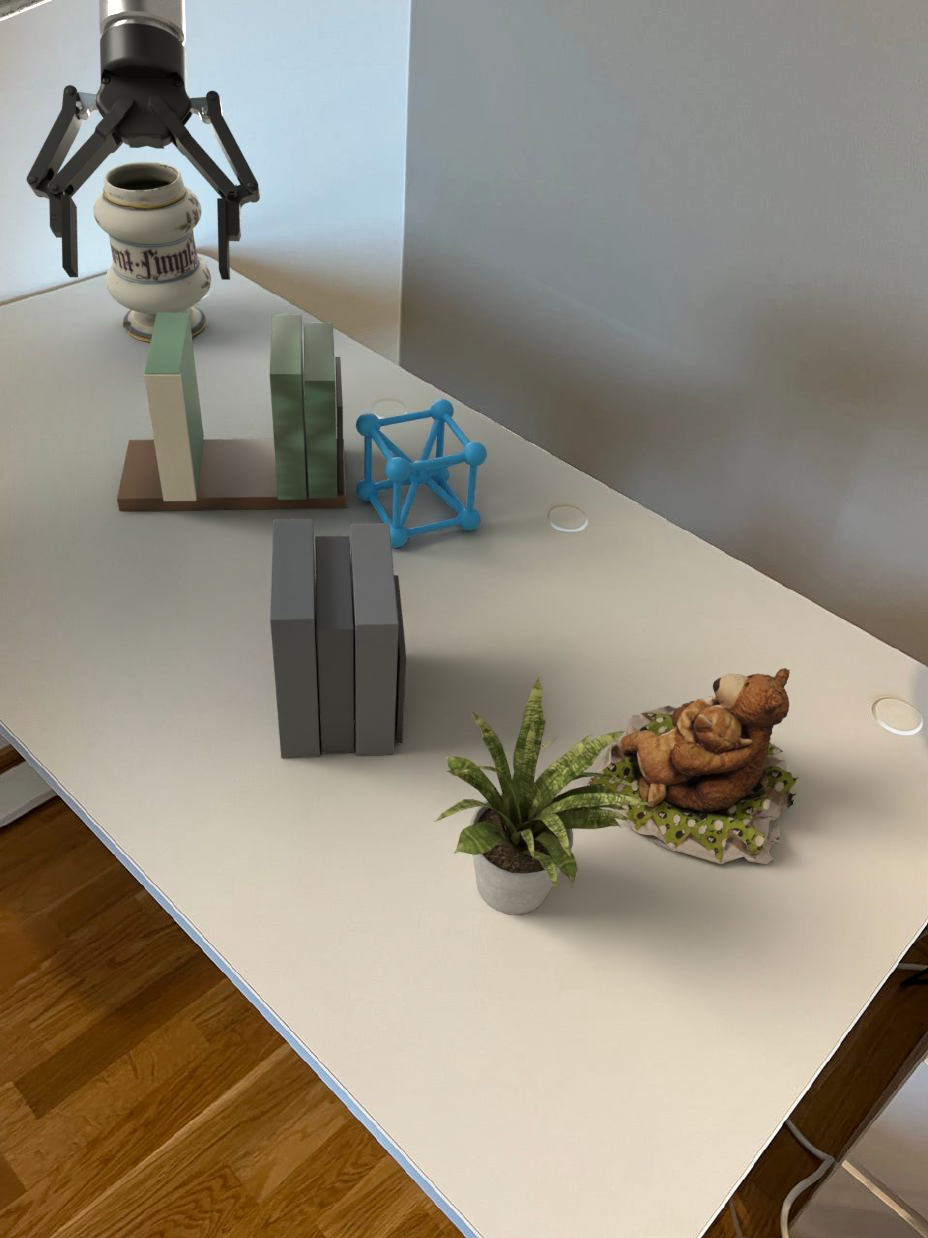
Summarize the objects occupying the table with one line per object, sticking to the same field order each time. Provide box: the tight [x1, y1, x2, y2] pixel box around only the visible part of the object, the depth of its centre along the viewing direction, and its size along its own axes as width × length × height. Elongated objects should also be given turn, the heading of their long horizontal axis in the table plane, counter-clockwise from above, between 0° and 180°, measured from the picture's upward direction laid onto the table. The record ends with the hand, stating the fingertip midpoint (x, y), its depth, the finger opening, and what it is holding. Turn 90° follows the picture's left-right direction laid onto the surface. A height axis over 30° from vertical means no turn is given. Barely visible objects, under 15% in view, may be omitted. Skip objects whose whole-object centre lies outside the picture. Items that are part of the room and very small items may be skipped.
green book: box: [143, 313, 205, 501], centre depth 102 cm, size 3×11×14 cm, turn 6°
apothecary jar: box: [92, 161, 212, 343], centre depth 124 cm, size 12×12×18 cm
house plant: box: [433, 676, 653, 916], centre depth 70 cm, size 14×14×16 cm
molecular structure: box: [355, 398, 488, 549], centre depth 103 cm, size 10×10×10 cm
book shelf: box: [116, 313, 348, 512], centre depth 103 cm, size 22×11×16 cm, turn 96°
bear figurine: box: [587, 667, 800, 865], centre depth 80 cm, size 14×15×12 cm
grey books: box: [269, 518, 407, 759], centre depth 83 cm, size 10×11×15 cm
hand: (148, 273), depth 97 cm, fingers open, 13 cm apart
